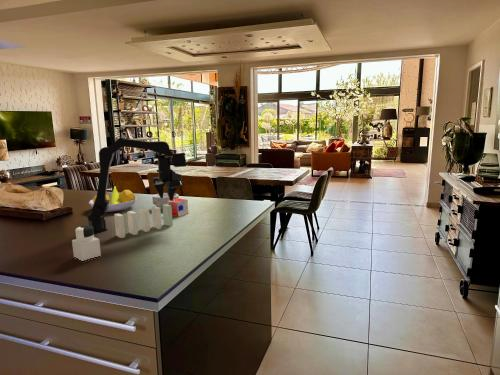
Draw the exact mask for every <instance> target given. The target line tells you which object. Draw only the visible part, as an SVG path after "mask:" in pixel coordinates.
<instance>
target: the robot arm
mask: <svg viewBox="0 0 500 375" xmlns="http://www.w3.org/2000/svg"><path fill="white" fill-rule="evenodd" d="M124 147H125V148H134V149H140V150H147V151H148V150H149V151H152V152H154V153H156V154H155V155H154V156H153V159H154V160H157V166H158V167H157V168H158V169H156V172H157V173H158V176H156V177H155V176H154V177H151V179H150V184H151V185H152V186H153V188H154V189H155V191H156V192H157V194H159V196H160V198H163V193H164V187H165V190H166V193H168V196H169V199H170V201H173V197H174V194H176V190H177V189H178V188H180V187H181V186H182V184H181V182H182V177H183V174H180V173H176V171H175V170H173V169H172V168H171V166H173V167H174V168H185V167H187V159H186V153H185V152H178V153H177V152H176V153H174V152H173V151H172V150H171V149H170V145H169V143H168V142H167V141H164V140H158V141H157V140H155V141H146V140H137V139H130V138H125V137H119V138H118V139H117V140H115V141H114V142H113V143H112V144H110V145H108V146H104V147H102V148H101V149H100V150H99V151H98V159H99V161H98V162H99V166H100V168H99V175H98V184H97V192H96V195H97V197H96V199H95V202H94V205H93V207H92V208H91V212H90V213H89V214H88V215H87V223H88V226H92V227H93V230H94V234H99V233H101V232H102V233H103V232H106V231H108V228H107V223H106V219H105V216H104V215H105V214H106V213H107V212H106V211H107V210H108V208H109V201H110V200H107V198H106V194H107V192H108V184H109V176H110V168H111V165H112V162H113V160H114V157H115V153H116V152H118V151H119V150H120V149H121V148H124ZM165 155H166V156H165Z"/></svg>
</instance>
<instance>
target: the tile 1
mask: <svg viewBox="0 0 500 375" xmlns="http://www.w3.org/2000/svg"><path fill="white" fill-rule="evenodd" d="M113 216H114V218H113V219H114V227H115V228H114V229H115V236H116V237H117V238H119V239H123V238H126V231H125V223H124V222H125V221H124V220H125V219H124V215H123V214H121V213H114V214H113Z"/></svg>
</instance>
